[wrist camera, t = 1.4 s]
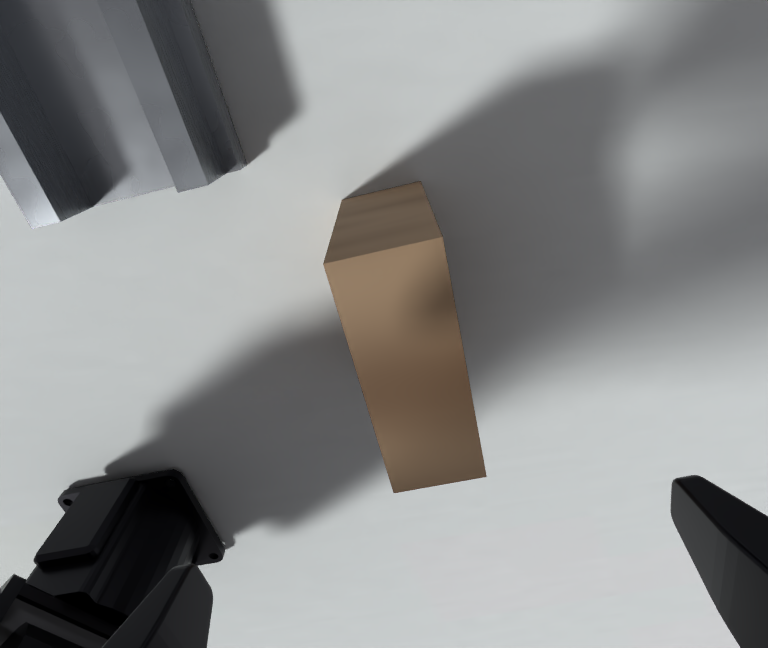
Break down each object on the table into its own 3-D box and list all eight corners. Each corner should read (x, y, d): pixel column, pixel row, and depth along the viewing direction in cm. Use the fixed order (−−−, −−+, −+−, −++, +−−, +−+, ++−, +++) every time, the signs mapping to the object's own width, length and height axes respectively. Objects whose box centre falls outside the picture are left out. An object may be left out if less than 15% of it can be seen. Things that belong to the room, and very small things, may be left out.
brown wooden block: (455, 360, 22) (486, 476, 15) (389, 373, 22) (393, 493, 16) (420, 180, 18) (442, 237, 12) (341, 199, 18) (323, 263, 12)
